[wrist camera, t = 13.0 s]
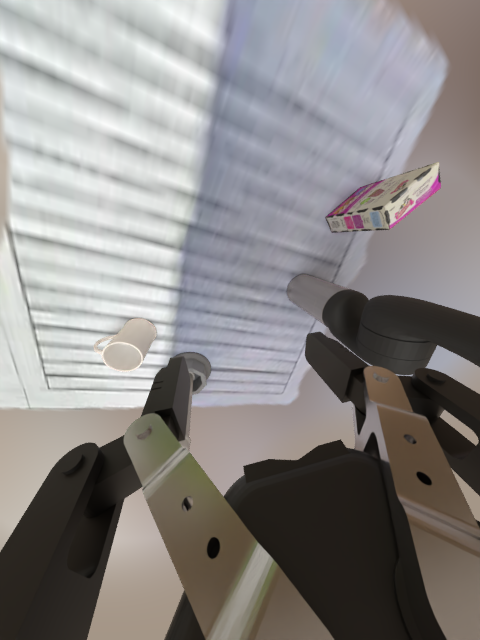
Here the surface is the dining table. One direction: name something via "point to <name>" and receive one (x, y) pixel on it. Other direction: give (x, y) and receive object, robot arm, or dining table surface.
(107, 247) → the dining table surface
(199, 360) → the valve socket
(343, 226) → the candy bar box
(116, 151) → the dining table surface
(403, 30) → the dining table surface
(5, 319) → the dining table surface
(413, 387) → the robot arm
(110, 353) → the mug
